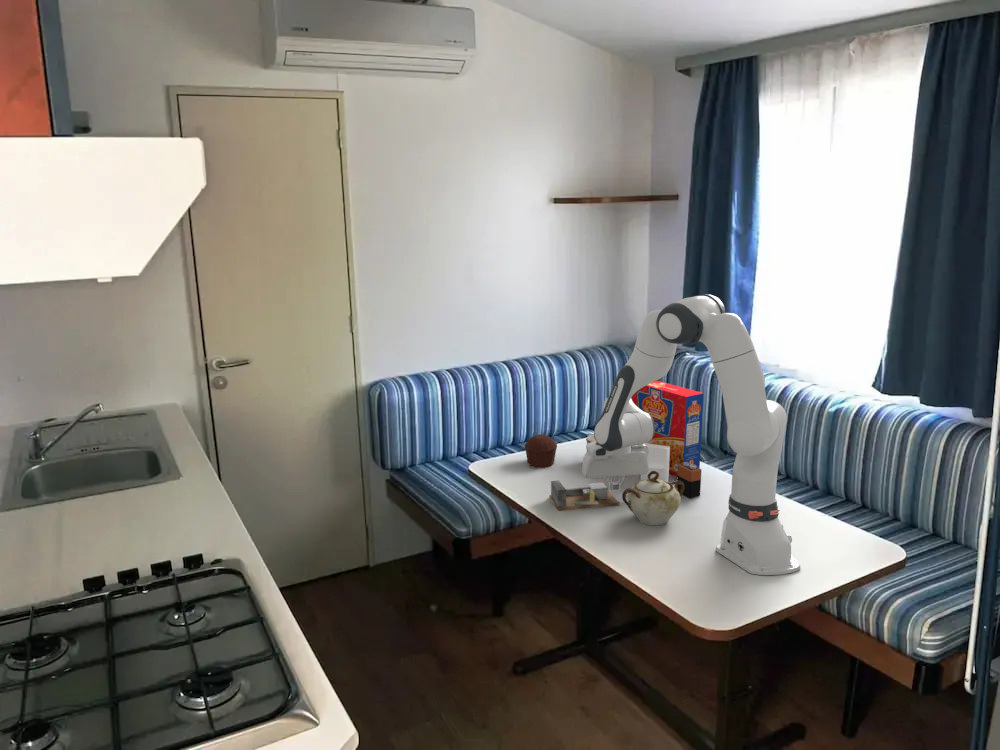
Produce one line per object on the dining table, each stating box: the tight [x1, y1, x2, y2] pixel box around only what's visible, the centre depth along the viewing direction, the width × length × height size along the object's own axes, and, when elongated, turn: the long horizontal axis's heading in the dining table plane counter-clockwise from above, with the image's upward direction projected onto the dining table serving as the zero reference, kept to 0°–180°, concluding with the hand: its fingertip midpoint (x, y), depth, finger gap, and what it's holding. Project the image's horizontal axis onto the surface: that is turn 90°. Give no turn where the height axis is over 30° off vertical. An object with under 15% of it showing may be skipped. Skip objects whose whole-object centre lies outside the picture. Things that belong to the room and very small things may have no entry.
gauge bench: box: [548, 480, 620, 511], centre depth 246 cm, size 19×10×6 cm, turn 101°
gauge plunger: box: [582, 482, 609, 500], centre depth 245 cm, size 7×7×4 cm
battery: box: [676, 462, 702, 499], centre depth 250 cm, size 4×7×10 cm, turn 25°
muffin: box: [524, 434, 558, 469], centre depth 279 cm, size 12×11×10 cm
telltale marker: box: [590, 491, 595, 502], centre depth 242 cm, size 1×2×3 cm, turn 11°
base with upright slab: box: [639, 443, 670, 483], centre depth 261 cm, size 9×9×12 cm
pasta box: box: [631, 380, 705, 478], centre depth 274 cm, size 28×8×28 cm, turn 35°
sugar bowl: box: [621, 471, 685, 526], centre depth 231 cm, size 20×15×15 cm
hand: (614, 489), depth 248 cm, fingers closed
